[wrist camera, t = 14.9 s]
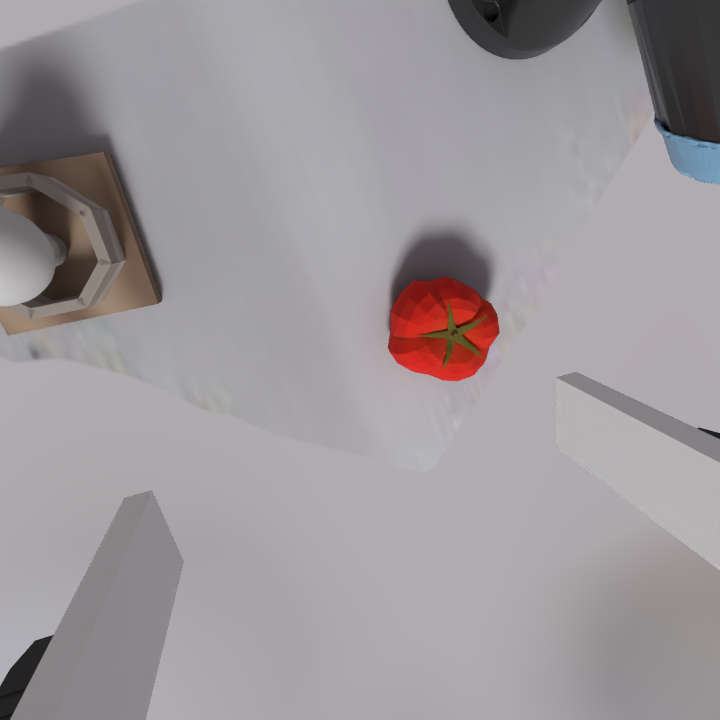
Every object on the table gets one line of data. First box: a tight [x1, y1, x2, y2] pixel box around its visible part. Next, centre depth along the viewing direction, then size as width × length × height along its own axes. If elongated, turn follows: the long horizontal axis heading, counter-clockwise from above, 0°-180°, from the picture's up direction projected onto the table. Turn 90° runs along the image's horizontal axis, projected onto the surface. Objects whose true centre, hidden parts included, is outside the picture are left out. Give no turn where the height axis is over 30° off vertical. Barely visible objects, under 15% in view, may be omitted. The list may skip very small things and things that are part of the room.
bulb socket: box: [0, 152, 162, 335], centre depth 31 cm, size 12×12×5 cm
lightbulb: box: [0, 206, 68, 306], centre depth 27 cm, size 6×6×11 cm
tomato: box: [388, 277, 499, 381], centre depth 40 cm, size 10×11×6 cm
